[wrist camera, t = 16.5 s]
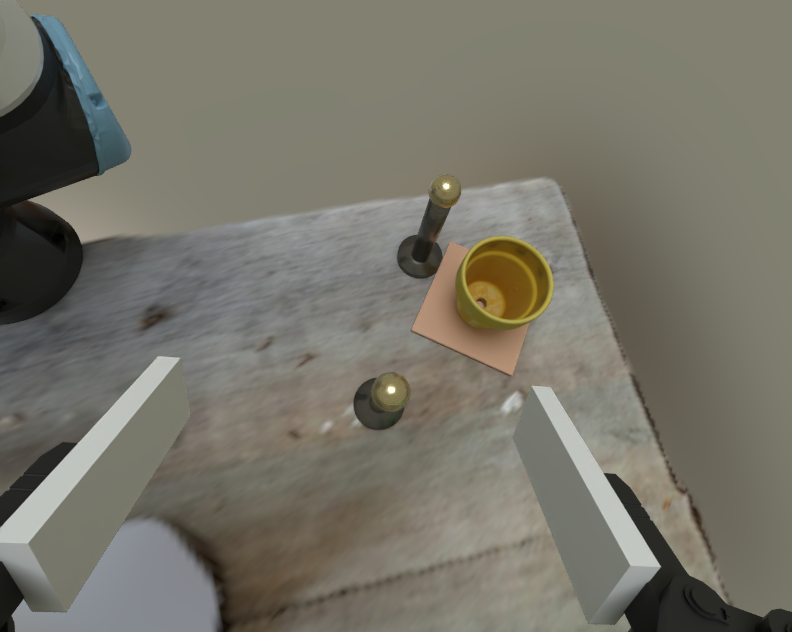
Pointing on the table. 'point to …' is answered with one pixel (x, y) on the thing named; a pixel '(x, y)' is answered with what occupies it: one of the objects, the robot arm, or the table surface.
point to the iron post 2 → (429, 229)
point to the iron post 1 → (381, 400)
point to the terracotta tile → (453, 332)
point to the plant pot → (503, 284)
